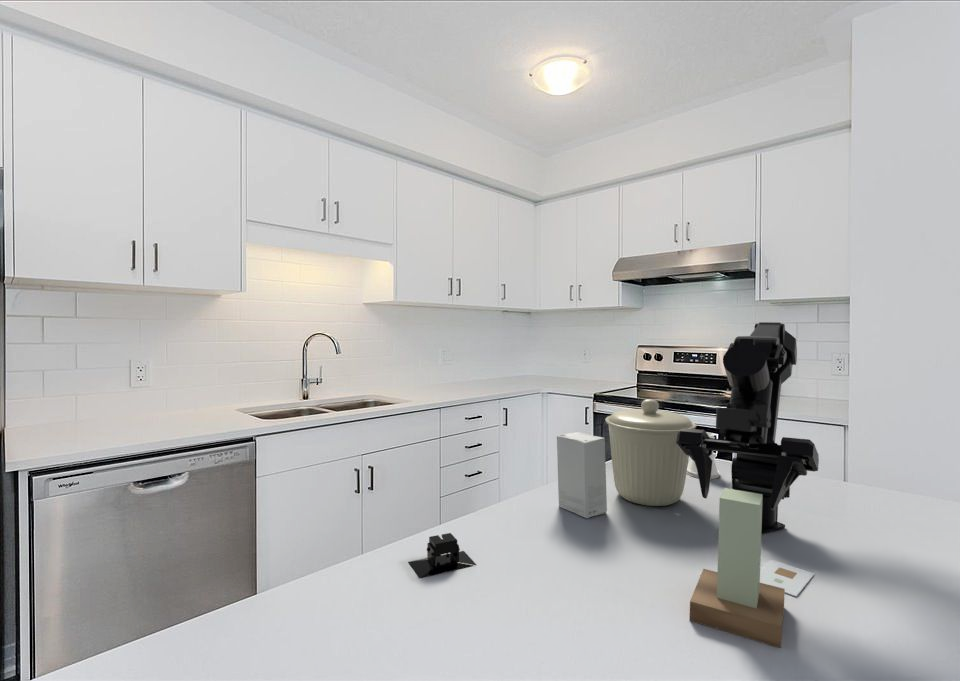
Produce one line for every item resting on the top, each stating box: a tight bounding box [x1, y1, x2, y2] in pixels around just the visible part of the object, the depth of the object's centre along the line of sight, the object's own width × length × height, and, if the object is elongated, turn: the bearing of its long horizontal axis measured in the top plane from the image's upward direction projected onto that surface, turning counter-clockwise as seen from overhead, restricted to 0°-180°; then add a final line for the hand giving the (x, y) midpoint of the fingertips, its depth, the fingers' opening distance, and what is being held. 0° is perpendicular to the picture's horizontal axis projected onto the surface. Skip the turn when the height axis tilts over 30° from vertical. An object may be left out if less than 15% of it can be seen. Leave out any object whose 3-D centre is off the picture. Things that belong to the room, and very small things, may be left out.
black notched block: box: [407, 532, 477, 579], centre depth 80 cm, size 12×7×5 cm, turn 115°
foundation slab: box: [689, 568, 786, 649], centre depth 67 cm, size 10×10×2 cm
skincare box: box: [556, 431, 608, 519], centre depth 102 cm, size 8×6×15 cm
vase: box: [686, 431, 720, 480], centre depth 126 cm, size 8×8×10 cm
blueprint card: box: [760, 559, 815, 598], centre depth 76 cm, size 9×6×1 cm, turn 134°
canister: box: [605, 398, 697, 507], centre depth 109 cm, size 18×18×21 cm
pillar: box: [717, 487, 763, 609], centre depth 66 cm, size 4×4×13 cm
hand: (737, 503), depth 75 cm, fingers open, 9 cm apart
